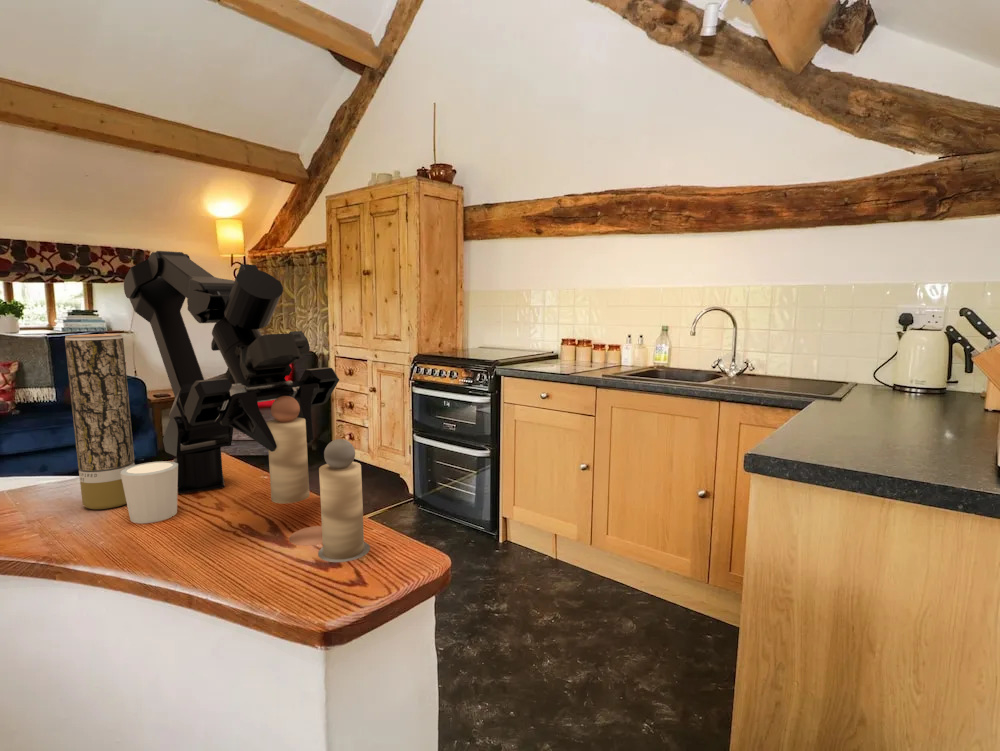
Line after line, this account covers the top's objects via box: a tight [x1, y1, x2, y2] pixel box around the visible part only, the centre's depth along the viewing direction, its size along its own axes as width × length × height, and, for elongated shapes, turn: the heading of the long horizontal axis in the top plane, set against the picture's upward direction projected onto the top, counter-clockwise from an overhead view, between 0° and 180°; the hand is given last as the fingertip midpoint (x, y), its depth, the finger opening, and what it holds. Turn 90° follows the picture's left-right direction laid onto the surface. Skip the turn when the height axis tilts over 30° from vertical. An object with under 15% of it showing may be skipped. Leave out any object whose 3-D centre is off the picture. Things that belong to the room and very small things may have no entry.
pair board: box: [288, 525, 371, 563], centre depth 67 cm, size 13×7×1 cm, turn 49°
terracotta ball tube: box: [266, 396, 310, 505], centre depth 71 cm, size 5×5×13 cm
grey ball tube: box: [318, 438, 365, 560], centre depth 64 cm, size 5×5×13 cm
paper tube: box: [64, 333, 136, 510], centre depth 82 cm, size 7×7×25 cm
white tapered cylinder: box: [120, 460, 178, 524], centre depth 78 cm, size 7×7×7 cm
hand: (293, 445), depth 70 cm, fingers closed on terracotta ball tube, 5 cm apart
